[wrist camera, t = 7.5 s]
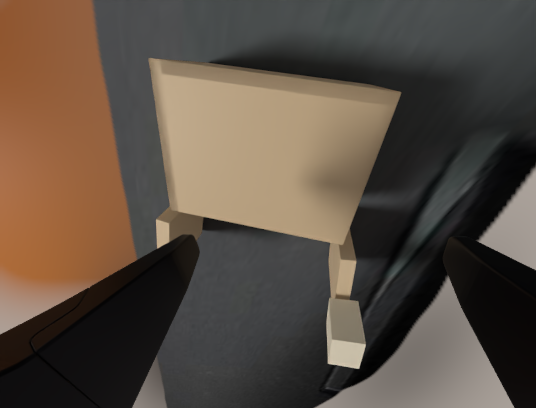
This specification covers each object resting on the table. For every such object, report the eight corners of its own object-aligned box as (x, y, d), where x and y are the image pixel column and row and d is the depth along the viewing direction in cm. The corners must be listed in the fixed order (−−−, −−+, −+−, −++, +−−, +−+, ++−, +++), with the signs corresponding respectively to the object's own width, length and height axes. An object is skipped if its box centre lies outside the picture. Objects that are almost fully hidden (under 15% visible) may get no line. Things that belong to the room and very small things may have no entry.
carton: (204, 62, 17) (148, 58, 11) (370, 84, 15) (401, 92, 10) (208, 173, 21) (170, 210, 16) (335, 196, 20) (342, 245, 15)
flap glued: (211, 185, 22) (145, 259, 13) (205, 235, 25) (150, 318, 17) (192, 179, 22) (113, 248, 13) (189, 229, 25) (125, 309, 17)
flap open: (323, 260, 24) (328, 363, 15) (328, 208, 21) (337, 303, 12) (343, 261, 23) (359, 368, 15) (351, 208, 20) (376, 308, 12)
